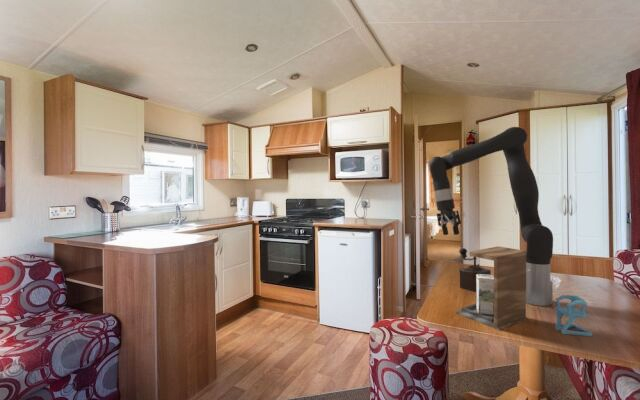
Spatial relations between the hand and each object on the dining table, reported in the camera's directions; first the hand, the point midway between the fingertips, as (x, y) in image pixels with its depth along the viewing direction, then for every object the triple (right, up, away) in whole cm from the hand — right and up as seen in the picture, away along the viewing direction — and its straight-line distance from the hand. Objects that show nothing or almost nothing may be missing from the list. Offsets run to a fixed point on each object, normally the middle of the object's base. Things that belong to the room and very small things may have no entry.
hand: (451, 234), depth 139 cm
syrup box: (+5, -28, -19) cm, 35 cm away
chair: (+26, -29, -35) cm, 52 cm away
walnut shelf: (+6, -29, -21) cm, 36 cm away
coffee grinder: (+15, -28, +12) cm, 34 cm away
